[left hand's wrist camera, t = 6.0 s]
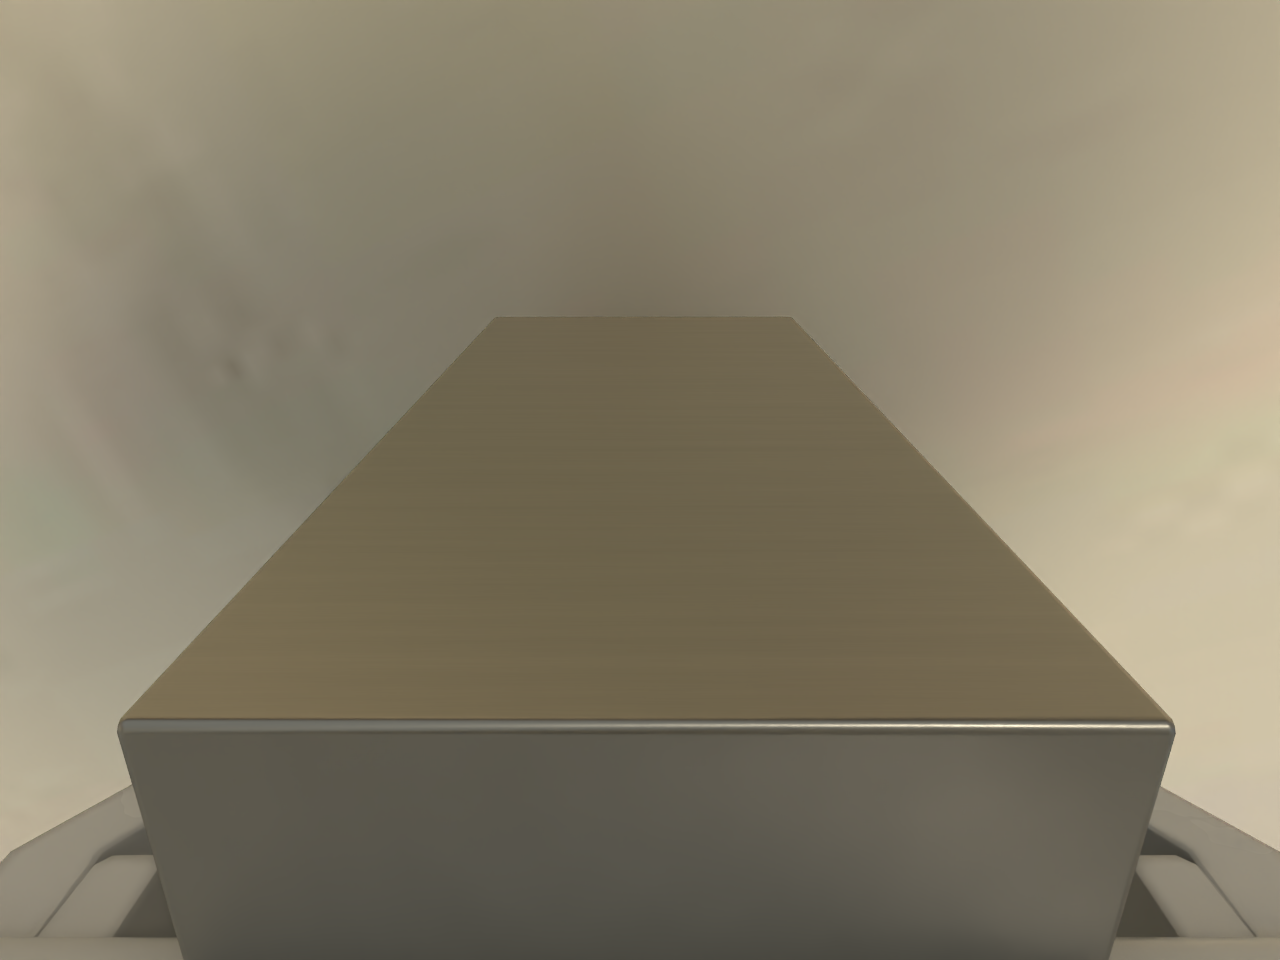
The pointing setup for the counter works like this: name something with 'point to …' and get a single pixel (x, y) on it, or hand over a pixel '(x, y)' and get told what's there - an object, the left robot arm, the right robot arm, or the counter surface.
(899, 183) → the counter surface
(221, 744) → the box
